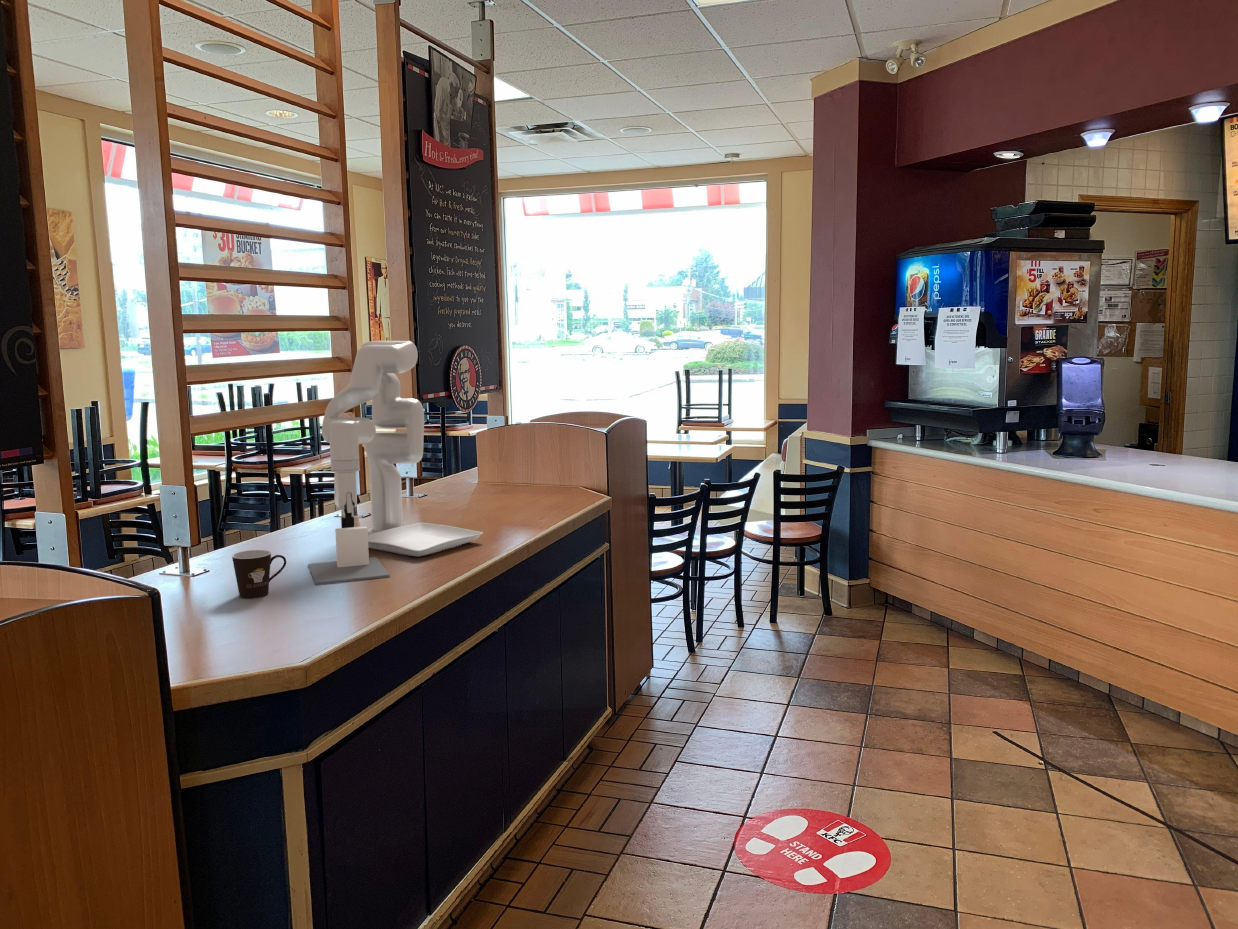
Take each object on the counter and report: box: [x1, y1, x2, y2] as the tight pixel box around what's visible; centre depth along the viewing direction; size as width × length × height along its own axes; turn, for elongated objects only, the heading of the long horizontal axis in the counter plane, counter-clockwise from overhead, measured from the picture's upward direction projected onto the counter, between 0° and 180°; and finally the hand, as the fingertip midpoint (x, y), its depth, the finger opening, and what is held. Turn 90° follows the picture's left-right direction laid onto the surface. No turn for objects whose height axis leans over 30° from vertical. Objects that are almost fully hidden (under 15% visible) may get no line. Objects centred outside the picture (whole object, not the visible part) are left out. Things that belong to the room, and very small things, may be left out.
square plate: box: [368, 522, 484, 557], centre depth 260 cm, size 27×27×4 cm
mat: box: [307, 556, 390, 586], centre depth 231 cm, size 20×18×1 cm
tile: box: [334, 525, 370, 567], centre depth 235 cm, size 3×8×10 cm, turn 114°
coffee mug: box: [231, 549, 287, 600], centre depth 210 cm, size 12×9×10 cm
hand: (348, 531), depth 242 cm, fingers closed
